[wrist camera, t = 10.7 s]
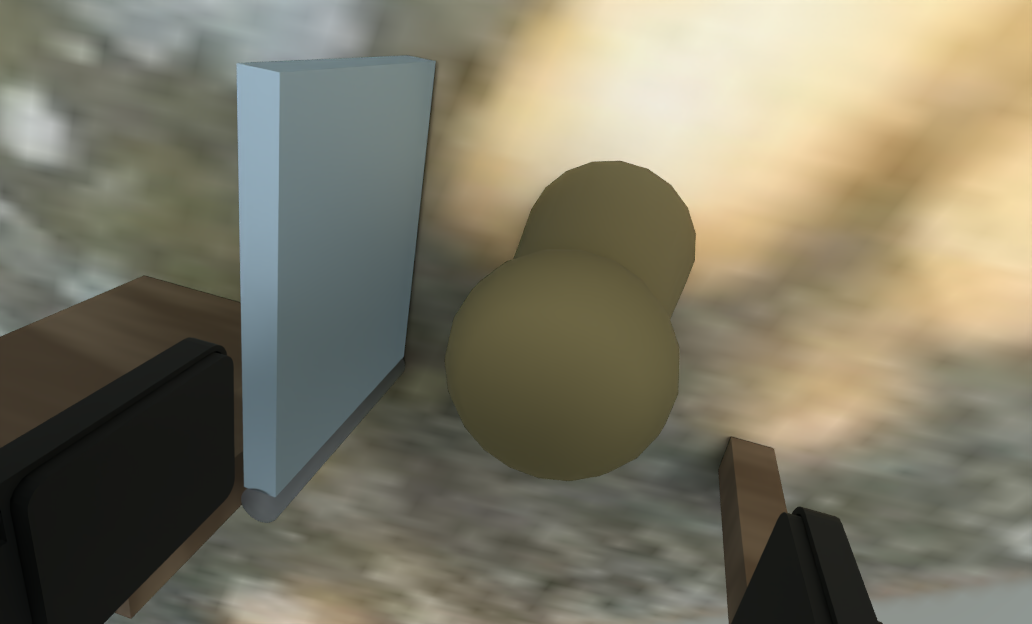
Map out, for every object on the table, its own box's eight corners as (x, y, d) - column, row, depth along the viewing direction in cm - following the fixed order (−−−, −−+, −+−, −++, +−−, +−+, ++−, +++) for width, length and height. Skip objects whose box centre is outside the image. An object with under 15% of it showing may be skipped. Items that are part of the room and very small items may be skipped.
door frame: (758, 485, 25) (819, 879, 13) (146, 307, 29) (-219, 486, 17) (775, 444, 24) (858, 826, 12) (143, 267, 28) (-244, 426, 16)
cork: (500, 279, 24) (369, 443, 14) (566, 129, 21) (462, 204, 12) (644, 351, 24) (613, 570, 14) (730, 208, 21) (766, 355, 11)
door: (438, 61, 21) (284, 73, 13) (403, 379, 26) (278, 527, 18) (404, 55, 21) (232, 62, 13) (376, 372, 27) (241, 515, 19)
